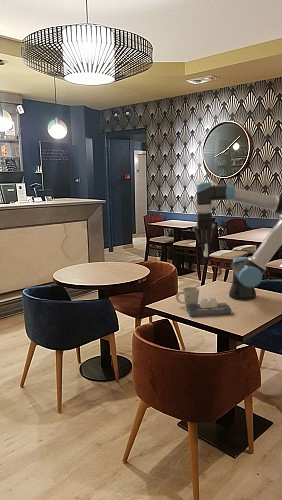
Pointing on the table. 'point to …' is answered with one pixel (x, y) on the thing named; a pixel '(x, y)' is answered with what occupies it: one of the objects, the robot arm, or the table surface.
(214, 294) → the table surface
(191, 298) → the mug
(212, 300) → the toggle
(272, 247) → the robot arm
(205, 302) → the toggle
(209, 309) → the console
